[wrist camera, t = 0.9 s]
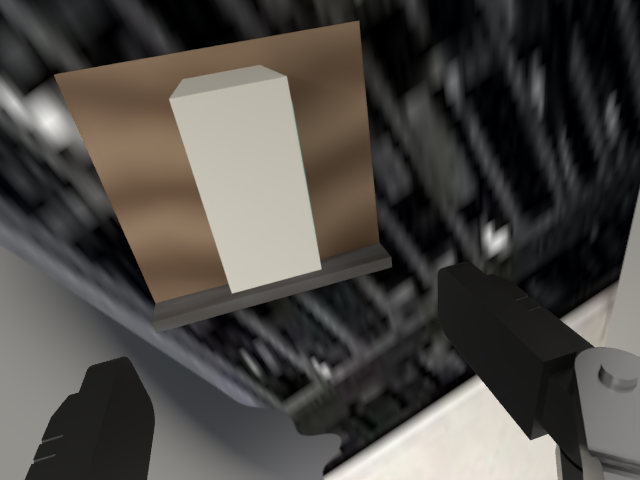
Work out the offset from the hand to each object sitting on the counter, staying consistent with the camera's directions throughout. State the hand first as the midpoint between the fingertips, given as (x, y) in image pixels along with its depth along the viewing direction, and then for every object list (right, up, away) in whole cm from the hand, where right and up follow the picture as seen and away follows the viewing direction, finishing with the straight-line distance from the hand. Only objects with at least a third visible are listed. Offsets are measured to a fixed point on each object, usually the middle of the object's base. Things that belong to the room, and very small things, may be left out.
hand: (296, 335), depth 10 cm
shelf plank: (-5, +7, +20) cm, 22 cm away
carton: (-5, +9, +17) cm, 20 cm away
